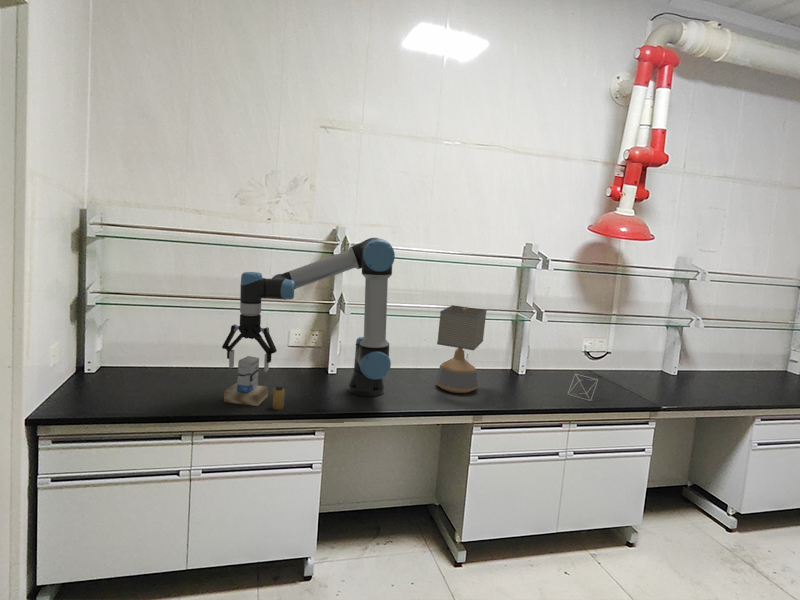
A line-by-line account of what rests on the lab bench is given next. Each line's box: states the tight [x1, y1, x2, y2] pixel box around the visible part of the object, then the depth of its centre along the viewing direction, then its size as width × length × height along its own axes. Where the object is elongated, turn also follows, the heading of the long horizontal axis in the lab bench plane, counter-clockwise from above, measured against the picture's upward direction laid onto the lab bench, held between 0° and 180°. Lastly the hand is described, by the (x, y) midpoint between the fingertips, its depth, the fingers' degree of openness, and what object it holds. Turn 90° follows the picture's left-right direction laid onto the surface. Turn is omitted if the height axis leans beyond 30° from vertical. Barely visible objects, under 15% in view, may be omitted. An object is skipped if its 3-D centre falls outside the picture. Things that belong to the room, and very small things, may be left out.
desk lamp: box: [435, 304, 487, 394], centre depth 239 cm, size 22×19×37 cm
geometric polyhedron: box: [567, 373, 599, 402], centre depth 247 cm, size 12×11×9 cm
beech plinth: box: [223, 382, 269, 407], centre depth 204 cm, size 13×11×4 cm
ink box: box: [236, 355, 260, 393], centre depth 203 cm, size 8×5×12 cm, turn 171°
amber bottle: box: [272, 384, 285, 410], centre depth 199 cm, size 4×4×8 cm
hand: (248, 369), depth 203 cm, fingers open, 13 cm apart
